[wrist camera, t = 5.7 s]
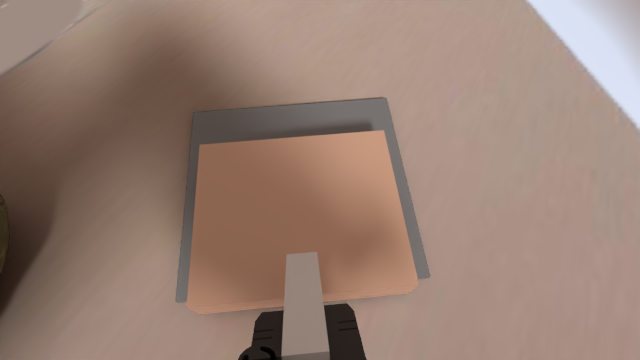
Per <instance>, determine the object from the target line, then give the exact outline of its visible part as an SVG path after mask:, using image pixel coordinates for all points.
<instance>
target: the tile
mask: <svg viewBox="0 0 640 360" xmlns="http://www.w3.org/2000/svg"><path fill="white" fill-rule="evenodd" d="M307 252H317V255H318V263H319V271H320V279H321V287H322V295H323V302H328V301H337V300H347V299H357V298H367V297H377V296H387V295H397V294H406V293H410V292H411V291H412V290H413V289H414V288H415V287H416V286H418V285H419V282H418V278H417V273H416V269H415V264H414V260H413V256H412V251H411V247H410V242H409V238H408V234H407V229H406V225H405V221H404V216H403V212H402V207H401V203H400V199H399V194H398V190H397V185H396V181H395V177H394V172H393V168H392V164H391V159H390V155H389V150H388V146H387V142H386V137H385V133H384V130H379V131H367V132H354V133H341V134H329V135H316V136H303V137H291V138H278V139H265V140H253V141H240V142H227V143H215V144H202V145H200V146H199V159H198V171H197V183H196V196H195V208H194V220H193V233H192V245H191V257H190V270H189V282H188V294H187V307H186V308H188V309H190V310H193V311H195V312H197V313H199V314H209V313H219V312H229V311H239V310H249V309H259V308H268V307H278V306H284V295H285V275H286V256H287V254H295V253H307Z"/></svg>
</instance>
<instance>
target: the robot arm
mask: <svg viewBox="0 0 640 360" xmlns="http://www.w3.org/2000/svg"><path fill="white" fill-rule="evenodd" d="M238 360H367V359H366V357H365V354H364V350H363V346H362V342H361V338H360V334H359V330H358V326H357V322H356V318H355V314H354V311H353V309H352V308H351V307H350V306H349V305H348V304H347V303H346V304H336V305H326V306H324V303H323V295H322V287H321V279H320V271H319V263H318V255H317V252H307V253H295V254H287V256H286V275H285V295H284V310H283V311H273V312H263V313H261V314H260V316H259V317H258V319H257V320H256V321H255V327H254V333H253V341H252V345H251V347H249V348H247V349H246V350H245V351H244V352H243V353H242V354H241V355H240V357H239V359H238Z"/></svg>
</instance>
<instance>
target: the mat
mask: <svg viewBox="0 0 640 360" xmlns="http://www.w3.org/2000/svg"><path fill="white" fill-rule="evenodd" d="M379 130H384V133H385V137H386V142H387V146H388V150H389V155H390V159H391V164H392V168H393V172H394V177H395V181H396V185H397V190H398V194H399V199H400V203H401V207H402V212H403V216H404V221H405V225H406V229H407V234H408V238H409V242H410V247H411V251H412V256H413V260H414V264H415V269H416V273H417V278H418V279H423V278H429V277H430V274H429V269H428V265H427V261H426V257H425V253H424V249H423V245H422V241H421V237H420V233H419V229H418V225H417V220H416V216H415V212H414V208H413V204H412V200H411V196H410V192H409V188H408V184H407V180H406V176H405V171H404V167H403V163H402V159H401V155H400V151H399V147H398V143H397V139H396V135H395V131H394V127H393V122H392V118H391V114H390V110H389V106H388V102H387V98H379V99H365V100H352V101H338V102H325V103H311V104H298V105H284V106H271V107H257V108H243V109H230V110H216V111H203V112H194V115H193V125H192V136H191V146H190V156H189V167H188V177H187V187H186V197H185V208H184V218H183V228H182V239H181V249H180V259H179V270H178V280H177V290H176V302H178V303H180V302H187V294H188V282H189V270H190V257H191V245H192V233H193V220H194V208H195V196H196V183H197V171H198V159H199V146H200V145H202V144H215V143H227V142H240V141H253V140H265V139H278V138H291V137H303V136H316V135H329V134H341V133H354V132H367V131H379Z"/></svg>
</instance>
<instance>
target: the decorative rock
mask: <svg viewBox="0 0 640 360" xmlns="http://www.w3.org/2000/svg"><path fill="white" fill-rule="evenodd" d="M8 244H9V226H8V216H7V207H6V204H5V201H4V199H3V197H2V196H1V195H0V274H1V271H2V269H3V266H4V263H5V259H6V254H7V251H8Z"/></svg>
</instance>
